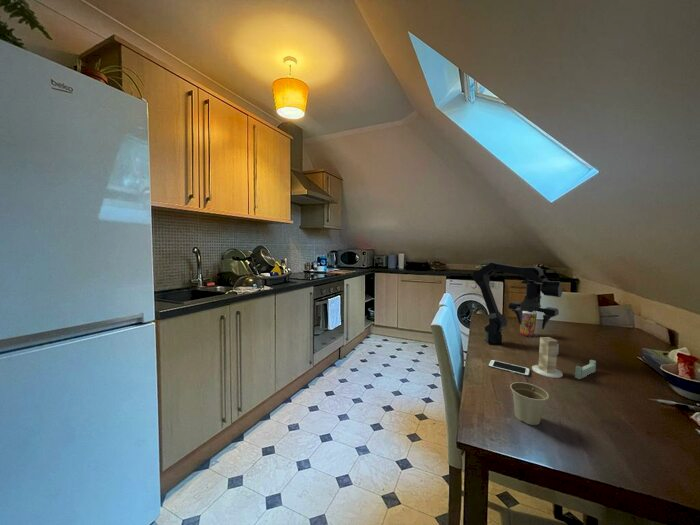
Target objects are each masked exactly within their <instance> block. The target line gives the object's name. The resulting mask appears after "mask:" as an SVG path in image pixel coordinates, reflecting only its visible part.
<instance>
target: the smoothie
mask: <svg viewBox="0 0 700 525" xmlns="http://www.w3.org/2000/svg"><path fill="white" fill-rule="evenodd" d="M537 315H538V311H533V312H528V311H523V312H522V324H520V323H519V333H520V335H521V334H522V335H521V336H523V335H524V336H523V337H527V336H530V337H529V338H532V336H533V337H534V335H535V333H536V332H535V331H536V325H537V317H538V316H537Z"/></svg>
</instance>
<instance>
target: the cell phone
mask: <svg viewBox="0 0 700 525" xmlns="http://www.w3.org/2000/svg"><path fill="white" fill-rule="evenodd" d="M487 367H488V368H491V369H495V370H499V371H502V372H507V373H512V374H514V375H519V376H522V377H527V378H529V377H530V375H531V368H529V367H525V366H521V365H518V364H517V365H516V364H513V363H509V362H505V361H500V360H496V359H490V360H489V362H488V364H487Z"/></svg>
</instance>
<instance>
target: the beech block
mask: <svg viewBox="0 0 700 525" xmlns="http://www.w3.org/2000/svg"><path fill="white" fill-rule="evenodd" d="M557 344H559V342H558V340H557V339H554V338H552V337H549V336H547V337H546V336H545V337H543V336H542V337H541V336H540V337H539V348H538V350H539V352H538V353H539V354H538V365H539V366H538V368H539V369H540V370H542V371H544V372H546V373H556V369H557V360H558V359H557V356H558V355H557Z"/></svg>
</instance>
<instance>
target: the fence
mask: <svg viewBox="0 0 700 525" xmlns="http://www.w3.org/2000/svg"><path fill="white" fill-rule="evenodd" d="M596 367H597V361H596V360H593V359H589V363H588V364H586V365H583V366H580V365H576V366H575V370H574V371H575V372H574V378H575V379H578V380H582V379H583V378H585V377H588V376H589V374H590V375H591V373H592V374H594V373H596ZM587 375H588V376H587Z"/></svg>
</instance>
